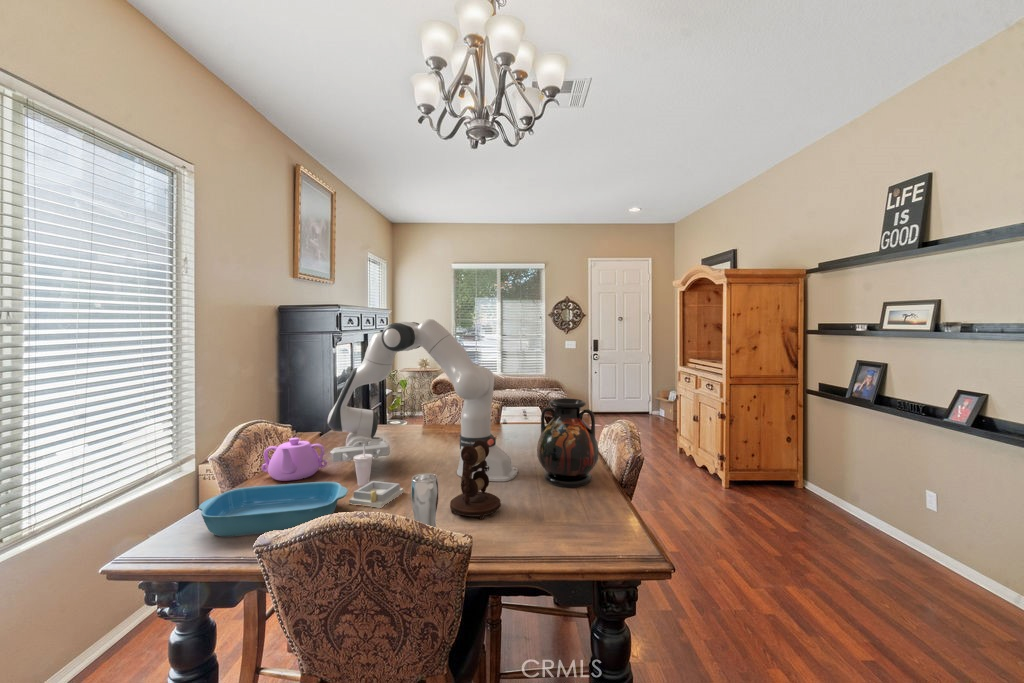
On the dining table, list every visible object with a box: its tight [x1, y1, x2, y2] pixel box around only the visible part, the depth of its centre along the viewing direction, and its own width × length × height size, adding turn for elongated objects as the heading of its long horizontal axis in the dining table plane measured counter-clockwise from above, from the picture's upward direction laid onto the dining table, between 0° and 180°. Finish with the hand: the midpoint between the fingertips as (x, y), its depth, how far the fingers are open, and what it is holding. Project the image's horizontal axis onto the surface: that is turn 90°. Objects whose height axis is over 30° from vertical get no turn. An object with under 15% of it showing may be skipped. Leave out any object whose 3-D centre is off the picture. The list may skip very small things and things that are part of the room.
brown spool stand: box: [449, 440, 502, 521], centre depth 128 cm, size 15×15×20 cm
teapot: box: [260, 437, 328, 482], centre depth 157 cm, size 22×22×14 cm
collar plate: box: [348, 480, 404, 509], centre depth 137 cm, size 11×13×4 cm
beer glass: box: [410, 473, 440, 528], centre depth 113 cm, size 7×7×15 cm
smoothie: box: [352, 444, 374, 487], centre depth 150 cm, size 6×6×14 cm
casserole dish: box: [198, 481, 349, 538], centre depth 122 cm, size 37×22×7 cm, turn 105°
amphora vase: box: [536, 398, 600, 488], centre depth 153 cm, size 22×22×28 cm
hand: (362, 457), depth 153 cm, fingers open, 8 cm apart
